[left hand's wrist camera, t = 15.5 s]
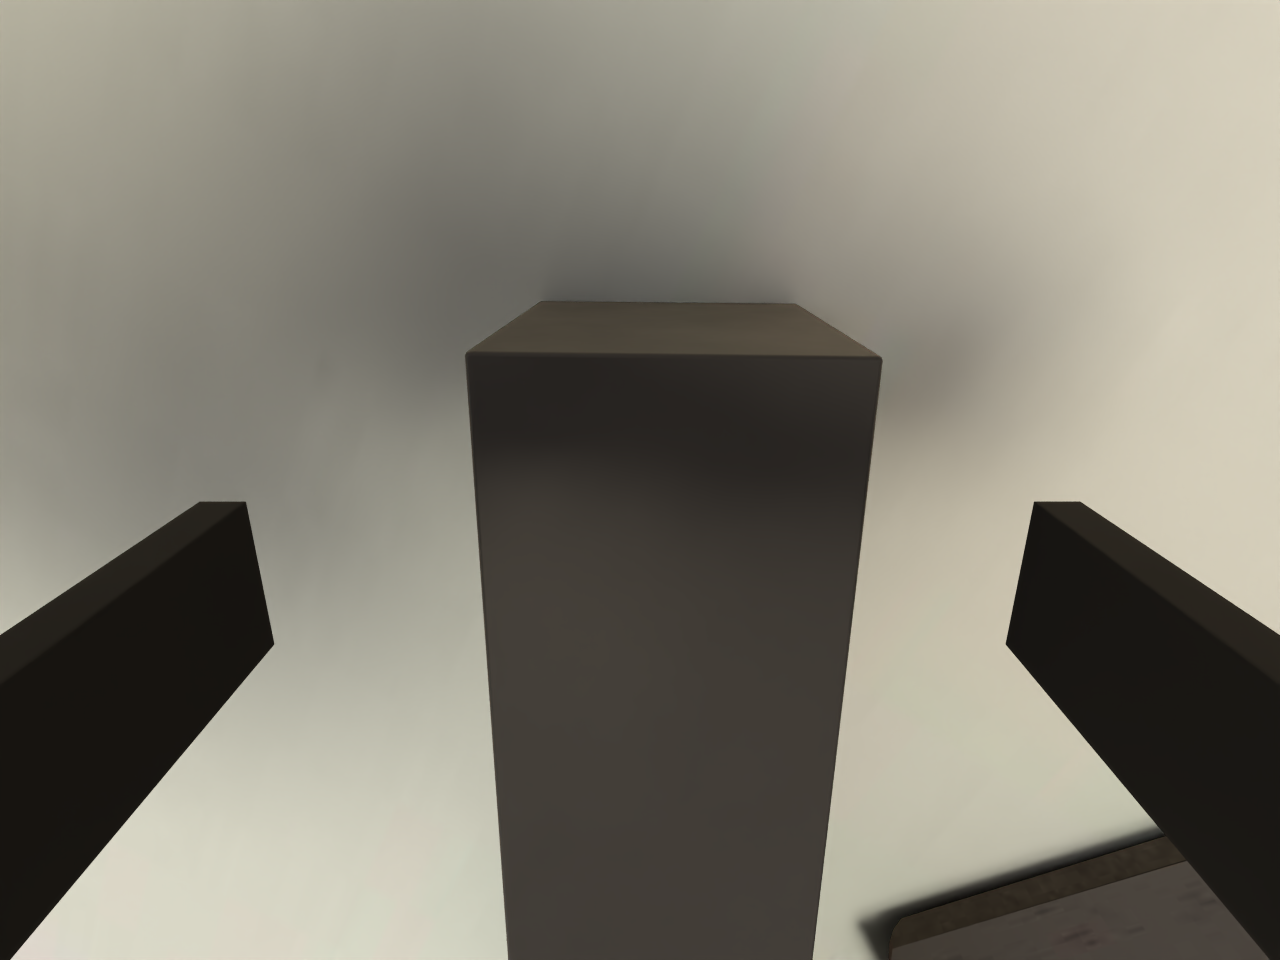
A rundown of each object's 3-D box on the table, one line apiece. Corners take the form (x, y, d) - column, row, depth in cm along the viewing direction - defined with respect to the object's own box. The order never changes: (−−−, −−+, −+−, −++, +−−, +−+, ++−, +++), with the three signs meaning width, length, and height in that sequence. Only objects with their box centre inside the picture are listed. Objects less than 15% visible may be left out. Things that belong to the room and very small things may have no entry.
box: (539, 300, 22) (463, 352, 13) (797, 303, 22) (884, 357, 13) (564, 989, 31) (529, 1271, 23) (744, 994, 31) (775, 1281, 23)
